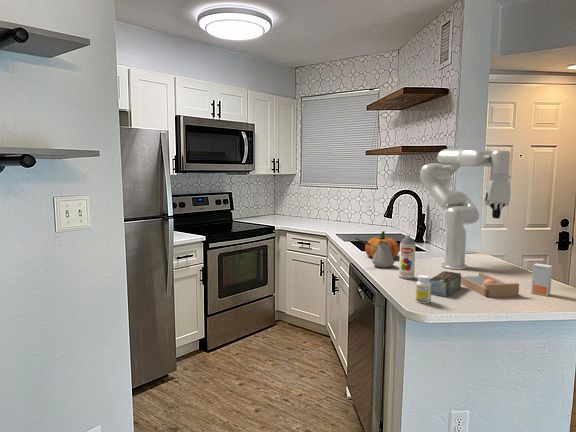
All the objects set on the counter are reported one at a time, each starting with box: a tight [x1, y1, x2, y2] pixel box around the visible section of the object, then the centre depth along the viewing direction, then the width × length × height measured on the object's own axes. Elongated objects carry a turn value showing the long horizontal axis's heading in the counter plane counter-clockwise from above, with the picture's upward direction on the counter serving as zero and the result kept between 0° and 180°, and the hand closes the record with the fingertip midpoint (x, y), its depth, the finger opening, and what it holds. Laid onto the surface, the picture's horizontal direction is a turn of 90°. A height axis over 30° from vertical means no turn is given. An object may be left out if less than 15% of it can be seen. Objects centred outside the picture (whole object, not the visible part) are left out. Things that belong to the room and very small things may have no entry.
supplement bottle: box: [415, 274, 432, 304], centre depth 156 cm, size 5×5×10 cm
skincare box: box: [530, 263, 553, 297], centre depth 167 cm, size 6×4×12 cm
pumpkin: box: [364, 231, 400, 259], centre depth 237 cm, size 19×19×15 cm
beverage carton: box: [429, 270, 462, 298], centre depth 172 cm, size 8×19×7 cm, turn 141°
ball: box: [483, 279, 496, 287], centre depth 171 cm, size 5×5×5 cm
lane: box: [461, 272, 520, 298], centre depth 176 cm, size 27×13×5 cm, turn 5°
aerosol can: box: [398, 234, 416, 280], centre depth 191 cm, size 7×7×20 cm
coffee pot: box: [353, 237, 395, 269], centre depth 214 cm, size 21×12×15 cm, turn 88°
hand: (495, 218), depth 189 cm, fingers closed
